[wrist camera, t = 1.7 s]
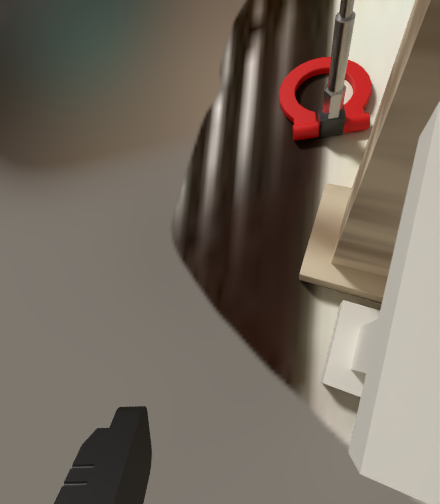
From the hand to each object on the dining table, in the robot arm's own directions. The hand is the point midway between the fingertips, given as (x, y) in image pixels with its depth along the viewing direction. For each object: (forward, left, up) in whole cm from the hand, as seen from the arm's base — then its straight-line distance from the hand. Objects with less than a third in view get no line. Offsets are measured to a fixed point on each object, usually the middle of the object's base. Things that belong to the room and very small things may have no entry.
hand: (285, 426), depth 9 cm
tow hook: (-26, -4, -17) cm, 31 cm away
